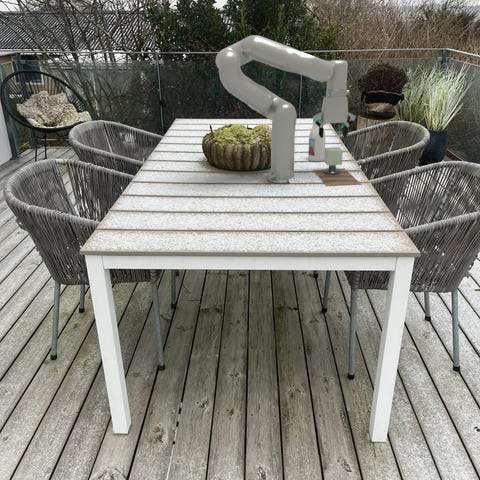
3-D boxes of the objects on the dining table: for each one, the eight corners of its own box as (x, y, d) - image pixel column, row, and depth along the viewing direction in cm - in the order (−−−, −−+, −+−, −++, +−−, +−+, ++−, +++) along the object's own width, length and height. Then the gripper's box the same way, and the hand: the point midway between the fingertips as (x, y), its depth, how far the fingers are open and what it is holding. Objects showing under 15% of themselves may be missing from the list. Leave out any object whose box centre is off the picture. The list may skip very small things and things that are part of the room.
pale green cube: (341, 164, 194) (342, 150, 192) (327, 165, 194) (328, 150, 191) (338, 161, 200) (338, 147, 197) (324, 161, 199) (324, 147, 197)
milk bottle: (324, 157, 228) (325, 115, 220) (325, 161, 221) (327, 118, 213) (308, 157, 229) (309, 116, 221) (308, 161, 222) (309, 118, 214)
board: (361, 188, 182) (363, 161, 178) (326, 189, 182) (327, 163, 177) (344, 171, 204) (345, 147, 200) (312, 173, 204) (313, 149, 199)
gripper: (354, 92, 189) (351, 134, 196) (312, 92, 188) (310, 135, 195) (360, 94, 183) (356, 138, 189) (316, 95, 181) (314, 139, 188)
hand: (333, 137), depth 192 cm, fingers open, 9 cm apart
